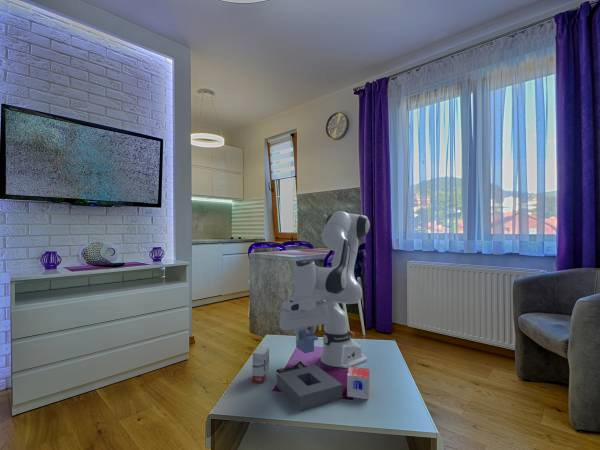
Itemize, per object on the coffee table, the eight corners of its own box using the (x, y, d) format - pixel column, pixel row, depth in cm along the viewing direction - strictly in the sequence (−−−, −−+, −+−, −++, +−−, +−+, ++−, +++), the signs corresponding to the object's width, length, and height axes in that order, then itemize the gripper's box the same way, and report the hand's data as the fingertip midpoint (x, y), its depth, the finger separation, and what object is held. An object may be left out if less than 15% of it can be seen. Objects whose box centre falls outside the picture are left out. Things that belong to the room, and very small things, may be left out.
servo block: (301, 342, 127) (301, 323, 127) (318, 354, 115) (318, 333, 115) (292, 344, 125) (292, 325, 125) (308, 356, 113) (308, 335, 113)
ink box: (263, 383, 126) (263, 354, 126) (251, 382, 127) (252, 353, 127) (269, 374, 134) (269, 346, 134) (258, 373, 135) (259, 345, 135)
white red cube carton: (369, 389, 123) (369, 368, 123) (368, 399, 115) (368, 377, 115) (348, 386, 125) (349, 366, 125) (346, 396, 117) (347, 375, 117)
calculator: (276, 371, 138) (276, 364, 138) (301, 367, 142) (301, 360, 142) (283, 380, 129) (283, 373, 129) (309, 376, 133) (309, 369, 133)
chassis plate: (315, 376, 132) (315, 364, 132) (342, 398, 116) (342, 384, 116) (276, 386, 124) (276, 373, 124) (299, 411, 107) (299, 396, 107)
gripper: (323, 297, 128) (323, 331, 128) (277, 303, 118) (277, 340, 118) (331, 301, 122) (332, 336, 122) (284, 307, 113) (284, 345, 113)
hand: (304, 338), depth 120 cm, fingers closed on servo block, 4 cm apart
